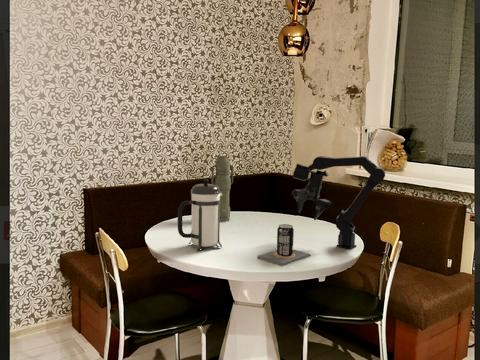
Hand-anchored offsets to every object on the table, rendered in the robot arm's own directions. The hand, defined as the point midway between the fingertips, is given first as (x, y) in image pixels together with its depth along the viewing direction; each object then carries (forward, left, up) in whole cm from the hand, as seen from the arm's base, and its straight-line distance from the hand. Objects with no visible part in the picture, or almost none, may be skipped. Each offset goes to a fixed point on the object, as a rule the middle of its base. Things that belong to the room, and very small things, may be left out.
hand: (306, 216), depth 209 cm
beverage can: (-8, +25, -11) cm, 28 cm away
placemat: (-8, +25, -12) cm, 29 cm away
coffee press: (+25, +40, -12) cm, 49 cm away
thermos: (+57, -2, -12) cm, 59 cm away
